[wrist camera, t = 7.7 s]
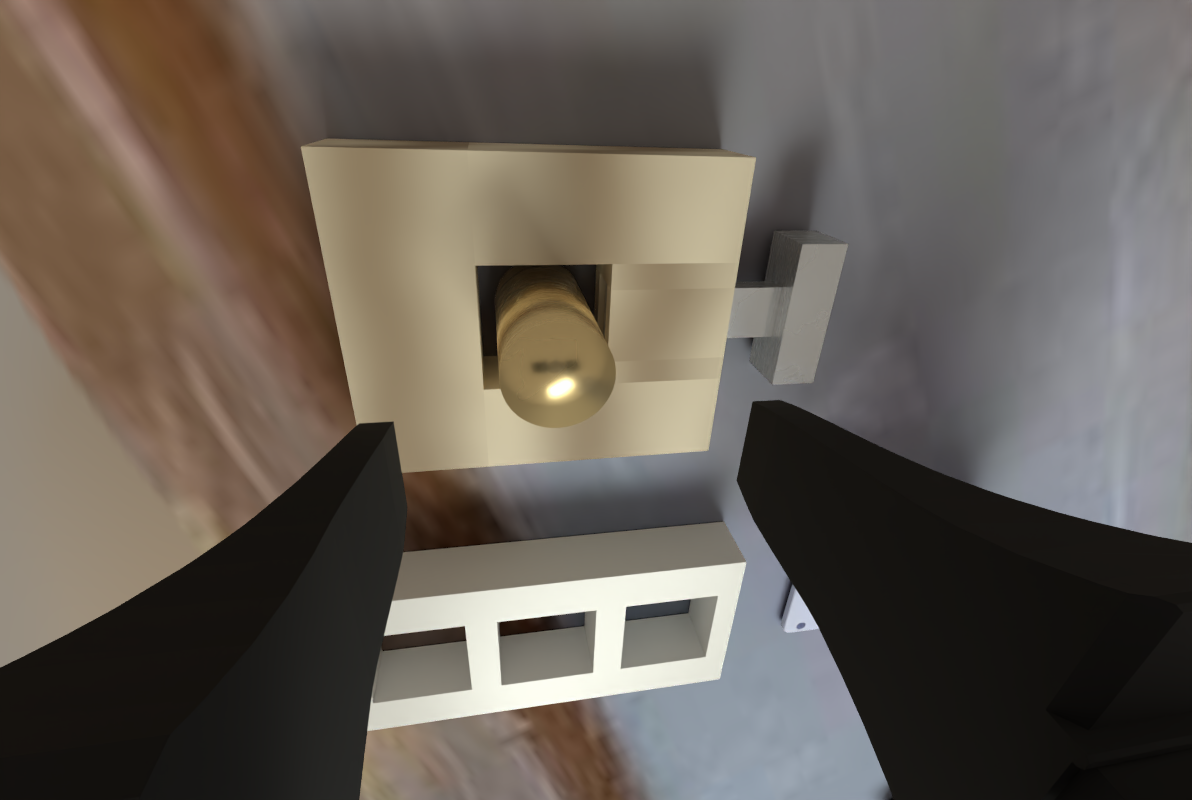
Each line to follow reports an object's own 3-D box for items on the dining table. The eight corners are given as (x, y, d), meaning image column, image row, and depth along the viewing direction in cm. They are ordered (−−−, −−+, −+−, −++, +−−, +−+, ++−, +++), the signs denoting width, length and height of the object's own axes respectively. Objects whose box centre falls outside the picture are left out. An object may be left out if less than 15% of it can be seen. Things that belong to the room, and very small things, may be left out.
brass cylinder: (581, 258, 19) (619, 320, 14) (579, 339, 20) (612, 424, 15) (492, 258, 18) (496, 324, 13) (497, 342, 20) (501, 431, 15)
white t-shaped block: (816, 230, 19) (848, 244, 18) (787, 359, 22) (813, 382, 20) (604, 230, 18) (617, 245, 16) (598, 368, 21) (608, 393, 19)
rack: (724, 521, 26) (746, 562, 24) (701, 635, 30) (719, 679, 28) (335, 558, 23) (320, 608, 21) (366, 679, 27) (356, 732, 25)
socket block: (721, 148, 18) (756, 157, 16) (686, 415, 23) (708, 450, 20) (326, 138, 16) (300, 146, 14) (379, 433, 21) (366, 475, 18)
